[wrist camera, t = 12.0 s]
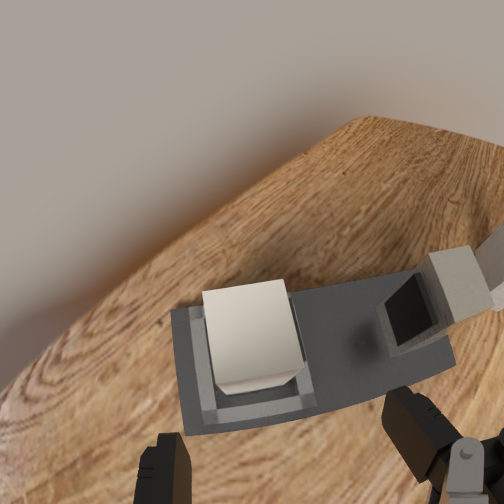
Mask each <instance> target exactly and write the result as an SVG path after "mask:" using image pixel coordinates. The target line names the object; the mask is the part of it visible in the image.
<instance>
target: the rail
mask: <svg viewBox="0 0 504 504" xmlns="http://www.w3.org/2000/svg"><path fill="white" fill-rule="evenodd" d="M287 296H288V298H291V299H292V303H293V307H294V311H295V315H296V319H297V323H298V327H299V331H300V335H301V339H302V343H303V347H304V352H305V356H306V360H307V361H306V362H305V363H304V366H305V368H304V369H302V370H301V371H300V372H299V373H298V374H296V375H295V376H294V377H293V378H291V379H290V380H289V381H288V382H286V383H285V384H284V385H283V386H280V387H275V388H270V389H265V390H260V391H254V392H248V393H242V394H236V395H230V396H227V395H226V394H225V393H224V392H223V391H222V390H221V389H220V388H219V387H218V386H217V385H216V383H215V377H214V371H213V364H212V358H211V352H210V345H209V338H208V331H207V324H206V317H205V310H204V305H200V306H193V307H188V308H180V309H172V310H170V311H171V323H172V335H173V346H174V355H175V365H176V373H177V382H178V390H179V397H180V404H181V411H182V418H183V424H184V431H185V436H193V435H205V434H214V433H223V432H231V431H238V430H245V429H251V428H257V427H263V426H269V425H274V424H279V423H284V422H289V421H294V420H298V419H303V418H307V417H311V416H315V415H319V414H323V413H327V412H331V411H334V410H338V409H341V408H345V407H348V406H352V405H355V404H358V403H361V402H365V401H368V400H371V399H374V398H377V397H380V396H383V395H385V394H387V392H388V391H390V390H393V389H396V388H398V387H401V386H404V385H405V386H409V385H412V384H414V383H417V382H419V381H422V380H424V379H427V378H429V377H431V376H434V375H436V374H438V373H440V372H443V371H445V370H447V369H449V368H451V367H453V366H455V365H456V362H455V358H454V355H453V351H452V348H451V345H450V341H449V338H448V334H450V333H451V332H453V331H455V330H457V329H458V328H460V327H462V326H463V325H465V324H467V323H469V322H470V321H472V320H474V319H475V318H477V317H478V316H480V315H482V314H483V313H485V312H486V311H488V310H489V309H491V308H493V307H494V306H495V304H494V302H493V299H492V296H491V294H490V291H489V289H488V286H487V284H486V281H485V279H484V276H483V274H482V272H481V269H480V267H479V265H478V263H477V260H476V258H475V256H474V254H473V252H472V250H471V247H470V245H466V246H462V247H457V248H452V249H447V250H442V251H437V252H432V253H428V254H427V255H426V256H425V257H424V258H423V260H422V261H421V262H420V263H419V264H418V265H417V266H416V267H415V268H414V269H410V270H405V271H401V272H396V273H391V274H386V275H381V276H376V277H371V278H366V279H361V280H356V281H351V282H346V283H340V284H335V285H329V286H324V287H318V288H313V289H307V290H301V291H295V292H287Z"/></svg>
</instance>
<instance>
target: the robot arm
mask: <svg viewBox="0 0 504 504" xmlns="http://www.w3.org/2000/svg"><path fill="white" fill-rule="evenodd" d="M382 425H383V428H384V430H385V431H386V433H387V434H388V436H389V437H390V439H391V440H392V442H393V444H394V445H395V447H396V448H397V450H398V451H399V453H400V454H401V456H402V457H403V459H404V461H405V462H406V464H407V465H408V467H409V468H410V470H411V471H412V473H413V475H414V476H415V478H416V479H417V481H418V482H419V484H420V483H422V482H424V481H426V480H428V479H429V481H430V482H431V485H430V487H429V492H428V496H427V501H426V504H488V503H489V504H504V428H503V429H502V430H501V432H500V434H499V435H498V436H497V437H494V438H490V439H487V440H483V441H479V440H477V439H475V438H471V437H465V438H464V437H463V436H462V435H461V434H460V433H459V432H458V431H457V430H456V429H455V427H454V426H453V425H452V424H451V423H450V422H449V421H448V419H447V418H446V417H445V416H444V415H443V414H441V411H440V410H439V409H438V408H436V406H435V405H434V404H433V402H432V401H431V400H430V399H429V398H427V397H426V396H424V395H422V394H420V393H416V394H413V392H412V391H411V390H410V389H409V388H408V387H407V386H405V385H404V386H401V387H398V388H396V389H393V390H390V391H388V392H387V394H386V398H385V403H384V408H383V412H382ZM137 477H138V479H137V482H136V488H135V495H134V502H133V504H192V467H191V460H190V456H189V454H188V451H187V449H186V447H185V444H184V442H183V440H182V437H181V435H180V433H179V432H175V433H159V435H158V439H157V446H154V447H147V448H146V450H145V451H144V452H143V454H142V455H141V457H140V463H139V470H138V475H137Z"/></svg>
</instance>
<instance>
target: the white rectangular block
mask: <svg viewBox="0 0 504 504" xmlns="http://www.w3.org/2000/svg"><path fill="white" fill-rule="evenodd" d="M202 294H203V302H204V310H205V317H206V324H207V331H208V338H209V345H210V352H211V358H212V364H213V371H214V377H215V383H216V385H217V386H218V387H219V388H220V389H221V390H222V391H223V392H224V393H225V394H226V395H227V396H230V395H236V394H242V393H248V392H254V391H260V390H265V389H270V388H275V387H280V386H283V385H284V384H285V383H286V382H288V381H289V380H290V379H291V378H293V377H294V376H295V375H296V374H298V373H299V372H300V371H301V370H302V369H304V368H305V366H304V363H305V362H306V361H307V360H306V356H305V352H304V347H303V343H302V339H301V335H300V331H299V327H298V323H297V319H296V315H295V311H294V307H293V303H292V299H291V298H288V296H287V292H286V288H285V284H284V280H283V279H279V280H273V281H267V282H261V283H254V284H248V285H242V286H235V287H229V288H222V289H216V290H209V291H202Z"/></svg>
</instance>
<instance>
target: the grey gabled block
mask: <svg viewBox="0 0 504 504" xmlns="http://www.w3.org/2000/svg"><path fill="white" fill-rule="evenodd" d="M475 258H476V260H477V263H478V265H479V267H480V269H481V272H482V274H483V276H484V279H485V281H486V284H487V286H488V289H489V291H490V294H491V296H492V299H493V302H494V304H495V306H494V307H493V308H491V310H493V311H496V312H498V311H500V310H501V309H503V308H504V222H502V224H501V225H500V226H499V227H498V228H497V229H496V230H495V231H494V232H493V233H492V234H491V235H490V236H489V237H488V238H487V239H486V240H485V241H484V242H483V243H482V244H481V245H480V246H479V247H478V248H477V249H476V250H475Z"/></svg>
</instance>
